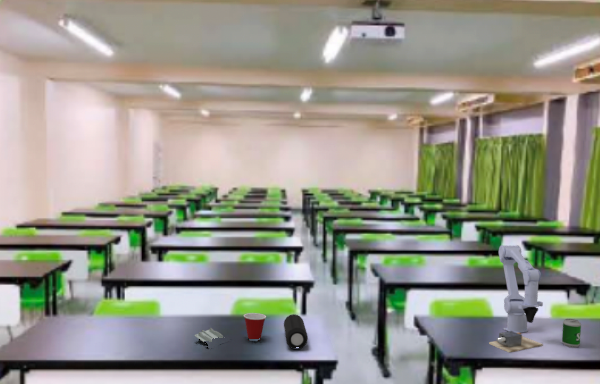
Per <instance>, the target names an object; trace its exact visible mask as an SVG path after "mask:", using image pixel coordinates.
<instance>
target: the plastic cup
mask: <svg viewBox="0 0 600 384" xmlns="http://www.w3.org/2000/svg"><path fill="white" fill-rule="evenodd" d="M243 317H244V321H245V327H246V334H247V339H248V338H249V339H259V338H261V339H262V335H263V334H262V333H263V328H264V323H265V320H266V319H267V316H266V315H265V314H262V313H255V312H249V313H245V314H243Z"/></svg>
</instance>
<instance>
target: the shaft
mask: <svg viewBox="0 0 600 384" xmlns="http://www.w3.org/2000/svg"><path fill="white" fill-rule="evenodd" d="M518 334H521V335H522V333H518ZM496 341H497V342H498V343H499V342H504V341H506V337H501V338H499V337H497V338H496Z"/></svg>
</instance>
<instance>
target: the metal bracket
mask: <svg viewBox="0 0 600 384" xmlns="http://www.w3.org/2000/svg"><path fill="white" fill-rule="evenodd" d="M194 337H195V338H197V339H198V340H199V339H200V340H199V341H202V342H203V343H204V341H209V342H212V339H213V338H214V339H215V338H218V337H219V338H223V337H224V335H223V334H222V333H220V332H219V331H217V330H214V329H213V328H212V327H210V328H209V329H207V330H204V329H202V330H201V331H199V332H198V333H196V334H194Z"/></svg>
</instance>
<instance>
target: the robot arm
mask: <svg viewBox="0 0 600 384" xmlns="http://www.w3.org/2000/svg"><path fill="white" fill-rule="evenodd" d="M498 256H499V262H500V263H502V267H503V270H504V271H503V272H504V277H505V281H506V283H505V284H506V289H507V296H505V298H504V299H503V302H504V303H503V304H504V305H503V308H504V311H505V313H507V318H506V319H507V321H506V323H507V325H506V327H504V328H503V330H504V331H506V332H508V331H513V332H516V333H521V334H522V333H527V332H529V329H528V323H529V324H530V323H531V324H533V322H534V319H535V316H536V314H537V313H538V311H539V307H543V305H544V302H542V301H538V295H539V294H538V293H539V282H541V280H542V274H541V271H540V270H539V268H538V269H537V268H534V266H533V265H532V264H531V263H530V261H529V260H527V259H525V258H524V256H523V254H522V248H521V246H520V245H517V244H516V245H503V244H502V245H500V246H499V248H498ZM516 263H517V267H518V269H519V270H520V272H521V274H522V278H523V285H524V296H522V295H521V294H520V292H519V287H518V282H517V276H516V272H515V271H516V270H515V266H514V265H515V264H516Z"/></svg>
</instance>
